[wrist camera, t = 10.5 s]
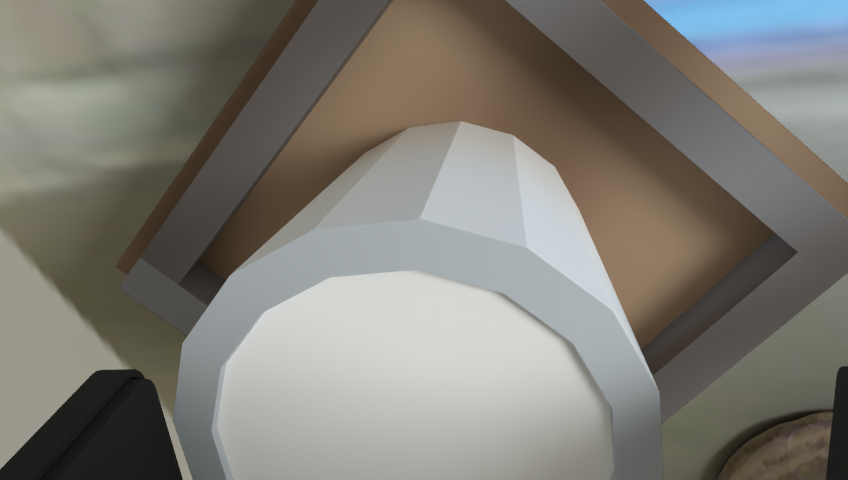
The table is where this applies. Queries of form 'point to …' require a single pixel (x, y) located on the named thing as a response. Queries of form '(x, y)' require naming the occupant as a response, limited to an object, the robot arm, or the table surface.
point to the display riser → (546, 135)
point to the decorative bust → (784, 452)
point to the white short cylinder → (423, 332)
